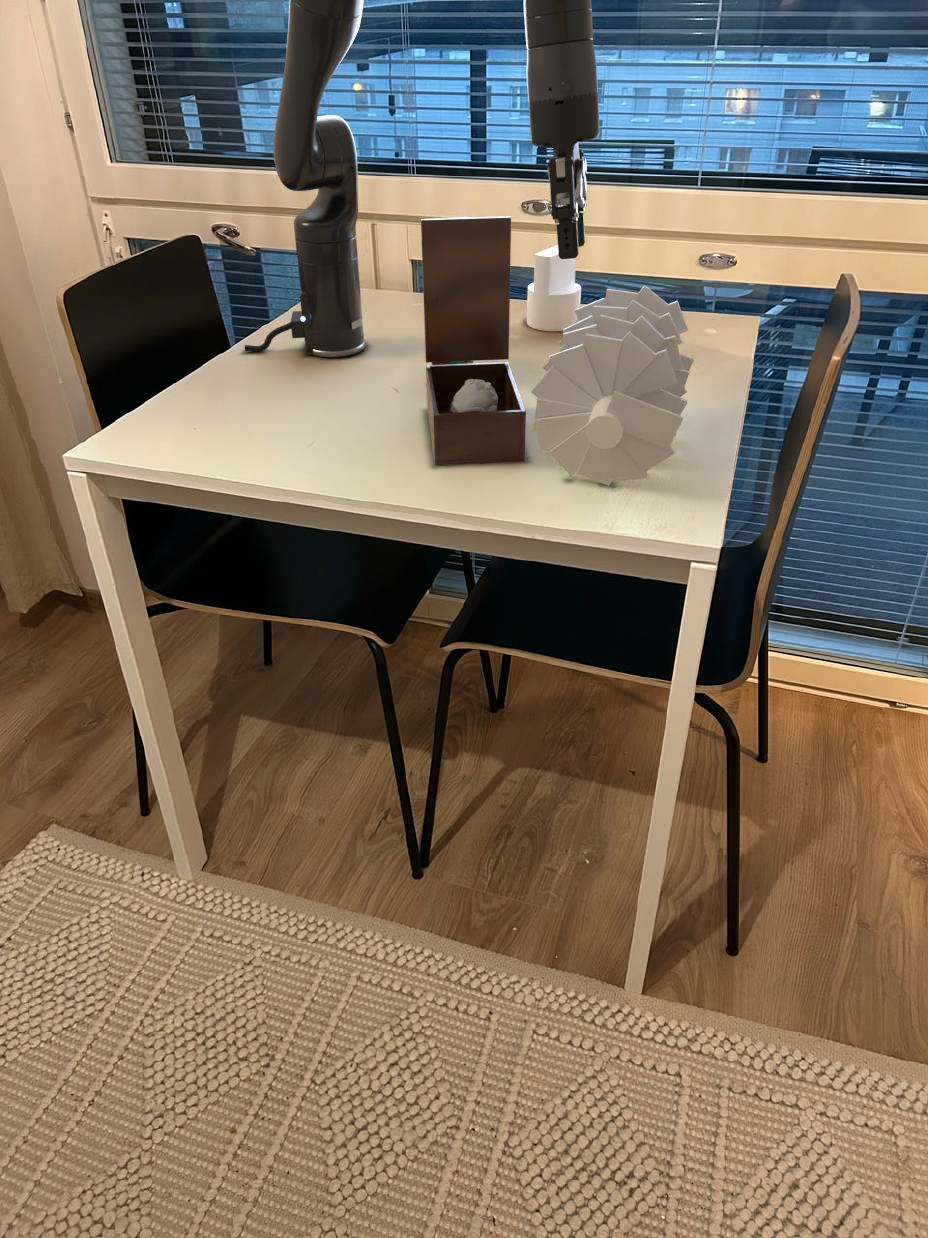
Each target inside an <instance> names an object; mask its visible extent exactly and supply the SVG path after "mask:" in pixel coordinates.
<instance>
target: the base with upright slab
mask: <svg viewBox="0 0 928 1238" xmlns="http://www.w3.org/2000/svg"><path fill="white" fill-rule="evenodd" d="M533 263H534V266H533V267H534V268H533V282H531V283H530V284H528V286H527V300H526V301H527V302H526V324H527V326H528V327H530V328H532V329H534V330H539V331H545V332H563V329H565V328H567V327H569V326H571V325H573V324H574V322H575V321H576V320H577V319H578V318H577V315H576V313H575V309H577V308H580V307H581V300H582V299H581V298H582V286H581V285H580V284H578V283H576V269H577V268H576V266H577V257H576V258H572V259H560V258H559V254H558V244H557V245H555V246H552V247H549V248H547V249H544V250H542V251H539V252H537V253H534V262H533Z"/></svg>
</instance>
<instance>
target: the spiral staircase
mask: <svg viewBox="0 0 928 1238" xmlns="http://www.w3.org/2000/svg"><path fill="white" fill-rule="evenodd" d="M682 311H683V310H682V308H681V306H680V303H679V301H678V300H676V301H673V302H670V303H667V302H666V301H665V300H664V299H663V298H661V296H660V295H658V294H656V292H654V291H653V290H652V289H650V288H649V287H648V286H647V285H643V286H642V288H641V289H640V290H639V292H635V291H627V290H621V289H614V288H606V292H605V297H603V298H600V299H598V300H594V301H593V302H589V303H587V304H585V305H582V306H580V308H577V309H575V313H576V315H577V318H578V319H577V320H576V321H575V322H574V324H573V325H571V326H569V327H567V328H565V329H563V331H562V332H563V334H562V335H563V337H561V339H560V340H559V342H558V344H559V345H560V348H558V350H557V351H556V352H555V353H553V354H550V355H549V360H548V361H546V363H544V365H543V366H542V369H543V370H544V371H545V374H544V375H543V376H542V378H540V380H539V381H538V382H537V384H536V385H535V386H534V387H533V388H532V389H531V391H530V393H531V394H532V395H534V396H535V397H536V406H535V411H534V412H535V413H534V420H533V426H532V431H533V432H536V433H537V439H538V443H539V447H540V448H539V449H540V452H548V453H549V455H550V456H551V457H552V458H553V459H554V460H555V461H556V463H558V465H559V466H560V467H561V468H562V469H563V470H564V472H566V473H567V475H568V476H569V477H570V478H571V477H573V476H575V475H576V474H577V475H579V476H581V477H584V478H587V479H590V480H592V481H595V482H598V483H599V484H603V485H605V486H608V487H610V485H611V483H612V482H613V483H614V482H624V481H635V480H644V479H648V476H649V475H648V472H649V471H650V470H652V469H653V468H655V467H656V466H658V465H659V464H661V463H662V462H664V461H665V460H667V459H668V458H670V457H671V456H673V455H675V450H674V449H673V448H672V446H671V445H672V442H673V440H674V439H675V437H676V436H677V432H678V430H679V428H680V426H681V424H682V422H683V419H684V416H683V415H682V413H683V411H684V409H685V408H686V406H687V404H688V402H689V400H687V399H686V398H683V396H684V395H686V394H687V393H688V390H687V389H686V388H685V387H686V384H687V381H688V378H689V375H690V370H691V367H692V366H693V363H694V362H695V361H694V360H695V358H694V357H691V356H688V355H685V354H682V353H680V349H679V345H680V344H683V339H682V338H681V334H683V333H686V332H688V331H689V328H688V325H687V323H686V320H685V318H684V317H685V316H684V314H683V312H682Z"/></svg>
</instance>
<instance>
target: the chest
mask: <svg viewBox="0 0 928 1238" xmlns="http://www.w3.org/2000/svg"><path fill="white" fill-rule="evenodd" d="M425 377H426V405H427V406H426V407H427V408H426V409H427V418H428V424H429V425H428V426H429V432H430V433H429V434H430V440H431V446H432V447H431V448H432V453H433V462H434V466H455V465H476V464H495V463H496V464H497V463H518V462H519V463H520V462H525V458H526V457H525V456H526V430H527V429H526V425H527V424H526V423H527V411H526V408H525V404H524V402H523V400H522V397H521V394H520V391H519V388H518V386H517V383H516V379H515V376H514V374H513V371H512V368H511V366H510V363H509V361H501V362H500V361H499V362H476V363H475V362H473V363H471V364H446V365H432V364H427V365H425ZM469 379H474V380H475V379H477V380H484V381H485V382H489V383H491V386H492V387H493V388H494V390H495V392H496V394H497V396H498V405H497V408H498V411H485V412H462V413H450V408H451V404H452V402H453V400H454V396H455V395H456V393H457V392H458V391H459V390H460V389H461V387H462V386H463V385H465V381H466V380H469Z"/></svg>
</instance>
